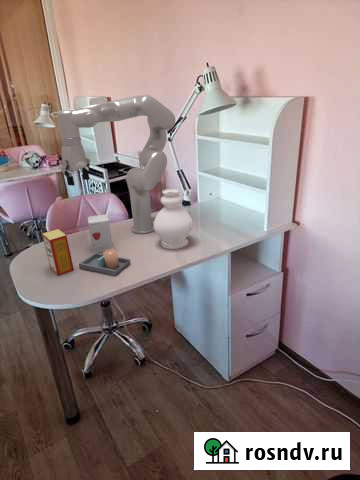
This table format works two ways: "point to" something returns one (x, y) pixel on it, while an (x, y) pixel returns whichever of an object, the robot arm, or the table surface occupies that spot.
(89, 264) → the pusher lane
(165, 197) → the decorative vase
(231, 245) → the table surface
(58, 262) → the baking soda box
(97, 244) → the supplement box
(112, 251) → the tan egg shape
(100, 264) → the plate
